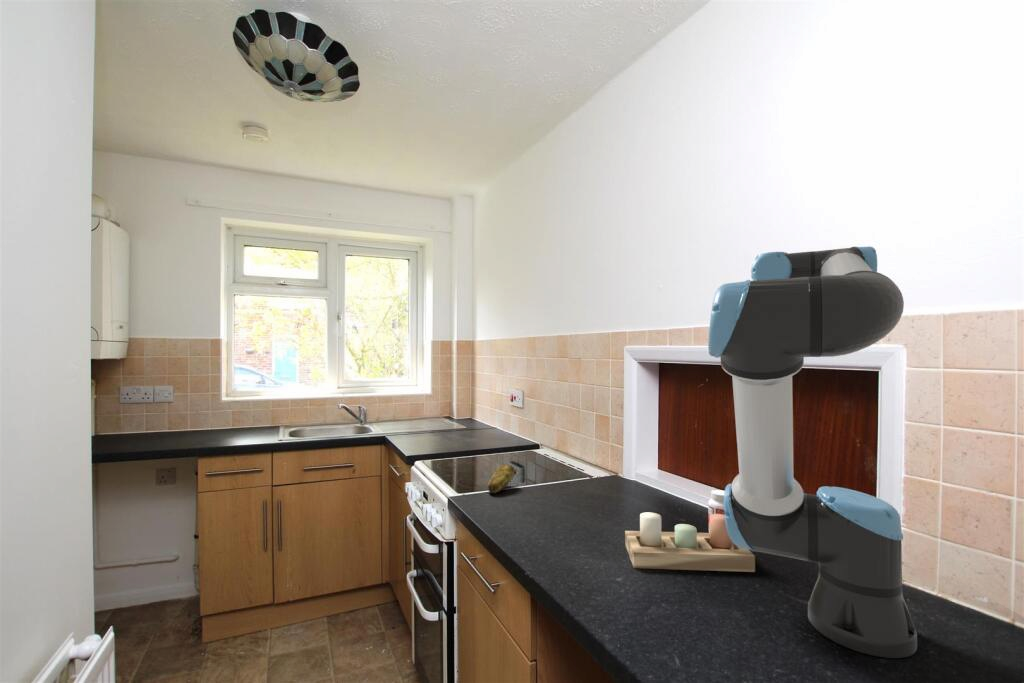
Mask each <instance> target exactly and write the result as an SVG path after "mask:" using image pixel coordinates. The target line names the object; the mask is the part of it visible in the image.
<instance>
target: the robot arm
mask: <svg viewBox="0 0 1024 683" xmlns="http://www.w3.org/2000/svg"><path fill="white" fill-rule="evenodd" d="M750 273H751V279H752V280H751V279H747V280H745V281H738V282H728V283H727V282H726V283H724V284H722V285H720V286H719V287H718V288H717V290H716V291H715V292H714V296H713V301H712V307H711V313H710V321H709V329H708V331H709V332H708V345H707V346H708V354H709V355H710V356H711V357H715V358H716V359H717V358H720V365H721V368H722V369H723V371H724V372H725V373H727V374H728V375H730V376H732V390H733V391H732V392H733V406H734V420H735V421H734V422H735V431H736V432H735V434H736V444H737V446H736V447H737V459H738V460H737V461H738V472H739V473H738V474H737V475H736V476H735V477H734V478H733V481H732V482H731V483H728V484H727V485H726V486H725V488H724V491H725V492H724V512H725V523H726V528H727V532H728V535H729V537H730V539H731V541H732V542H733V543H734V544H735V545H737V546H739V547H742V548H746V549H749V550H750V551H751V552H756V553H757V552H759V553H764V554H769V555H774V556H779V557H780V556H781V557H785V558H791V559H795V560H796V559H797V560H801V561H805V562H810V563H811V562H812V563H816V564H818V575H817V576H818V577H817V579H816V582H815V585H814V587H813V589H812V592H811V595H810V598H809V599H808V602H807V618H808V621H809V622H810V624H811V625H812V626H813V627H814V629H815V630H817V631H818V632H819V633H820V634H821V635H823V636H825V637H826V638H828V639H830V640H831V641H833V642H834V643H836V644H838V645H841V646H842V647H845V648H848V649H850V650H853V651H854V652H855V651H856V652H859V653H862V654H866V655H870V656H874V657H878V658H879V657H880V658H886V659H902V658H908V657H910V656H913V655H914V654H915V653H916V652H917V650H918V634H917V630H916V627H915V623H914V622H913V619H912V617H911V614H910V612H909V609H908V606H907V603H906V600H905V599H904V596H903V594H904V593H903V560H902V559H903V558H902V557H903V555H902V551H903V550H902V549H903V547H902V546H903V545H902V542H903V540H904V535H903V532H902V531H903V530H902V523H901V522H902V521H901V515H900V514H899V512H898V510H897V509H896V508H895V507H894V506H893V505H891V504H890V503H888V502H887V501H885V500H883V499H881V498H878V497H876V496H874V495H870V494H868V493H864V492H862V491H858V490H853V489H850V488H846V487H839V486H827V485H825V486H821V487H818V490H817V491H816V494H811V493H806V492H805V493H804V490H803V488H802V486H801V484H800V483H799V481H797V480H796V479H795V477H794V416H793V415H794V414H793V413H794V410H793V408H794V407H793V405H794V404H793V400H794V399H793V376H794V375H797V374H798V373H799V372H800V371H801V370H802V368H803V367H804V361H805V359H804V358H822V357H823V358H827V357H828V358H829V357H838V356H839V357H840V356H845V355H849V354H852V353H855V352H859V351H861V350H864V349H865V348H869V347H871V346H872V345H874V344H876V343H877V342H880V341H881V340H882V339H884V338H885V337H886V336H887V335H889V334H890V332H892V331H893V330H894V329H895V327H896V326H897V324H899V322H900V321H901V320H900V319H901V318H902V315H903V313H904V306H905V305H904V304H905V302H904V297H903V294H902V292H901V290H900V287H898V285H897V284H896V283H895V282H894V280H892V279H891V278H890V277H889V276H887V275H885V274H883V273H880V272H878V255H877V250H876V248H875V247H874V246H851V247H846V248H845V247H844V248H836V249H826V250H825V249H823V250H817V251H800V252H791V253H790V252H789V253H788V252H786V251H771V252H770V251H769V252H764V253H760V254H758V255H756V257H755V259H754V262H753V263H752V266H751V270H750Z"/></svg>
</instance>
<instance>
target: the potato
mask: <svg viewBox="0 0 1024 683" xmlns="http://www.w3.org/2000/svg"><path fill="white" fill-rule="evenodd" d="M514 476H515V468H514V467H513V466H512V465H509V464H501V465H500V466H498V467H497V469H496V470H495V471H494V473H493V474H492V476H491V478H490V479H489V481H488V482H487V490H488V492H489V493H491V494H493V493H494V494H497V492H498V493H499V492H500V491H502V490H504V489H505V488H506V487H507V486H508V485H509V484H510V482H511V481H513V479H514Z"/></svg>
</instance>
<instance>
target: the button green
mask: <svg viewBox="0 0 1024 683" xmlns="http://www.w3.org/2000/svg"><path fill="white" fill-rule="evenodd" d="M674 532H675V547H676V548H697V533H698V531H697V528H696V526H694V525H691V524H688V523H687V524H686V523H679V524H676V525H674Z"/></svg>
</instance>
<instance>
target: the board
mask: <svg viewBox="0 0 1024 683" xmlns="http://www.w3.org/2000/svg"><path fill="white" fill-rule="evenodd" d="M624 536H625V538H624V541H625V542H624V543H625V544H624V545H625V548H626V550H627V554H628V556H629V560H630V561H631V565H632V566H633V568H634V569H654V570H681V571H682V570H683V571H686V570H688V571H711V572H712V571H717V572H744V573H745V572H747V573H755V572H756V556H755V554H753V551H752V550H750V549H746V548H742V547H739V546H737V545H735V544H734V543H733V546H732V547H730V548H720V547H716V546H714V545H712V544H711V543H710V533H709V532H697V548H676V547H675V531H661V540H662V543H661V544H660V545H658V546H649V545H645V544H643V543H641V541H640V530H624Z"/></svg>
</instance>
